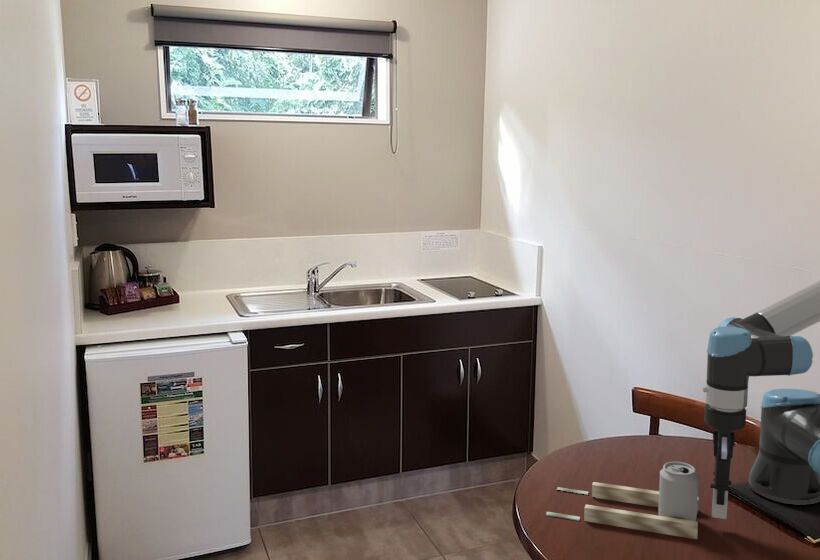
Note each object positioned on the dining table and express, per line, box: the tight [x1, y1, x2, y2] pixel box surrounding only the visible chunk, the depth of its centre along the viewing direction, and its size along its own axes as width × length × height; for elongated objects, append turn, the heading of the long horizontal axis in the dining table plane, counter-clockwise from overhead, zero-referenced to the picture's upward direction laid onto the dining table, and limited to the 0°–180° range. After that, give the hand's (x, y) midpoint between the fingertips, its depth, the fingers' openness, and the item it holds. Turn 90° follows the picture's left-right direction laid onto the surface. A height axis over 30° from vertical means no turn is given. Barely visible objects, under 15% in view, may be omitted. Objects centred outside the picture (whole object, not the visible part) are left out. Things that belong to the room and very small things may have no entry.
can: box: [657, 461, 699, 522], centre depth 150 cm, size 8×8×12 cm
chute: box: [545, 481, 700, 540], centre depth 155 cm, size 30×13×3 cm, turn 68°
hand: (719, 516), depth 148 cm, fingers closed
